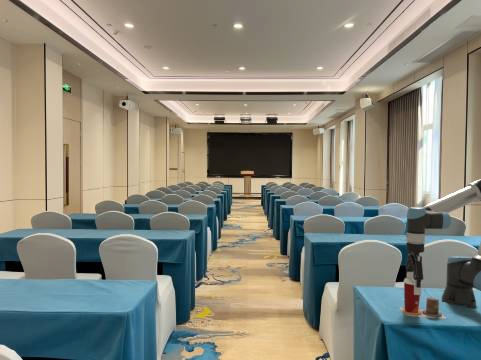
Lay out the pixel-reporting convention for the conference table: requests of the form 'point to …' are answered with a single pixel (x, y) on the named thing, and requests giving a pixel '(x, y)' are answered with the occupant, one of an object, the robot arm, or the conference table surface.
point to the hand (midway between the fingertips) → (413, 290)
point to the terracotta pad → (412, 313)
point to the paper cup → (410, 296)
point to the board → (422, 314)
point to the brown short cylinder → (432, 306)
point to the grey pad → (432, 314)
